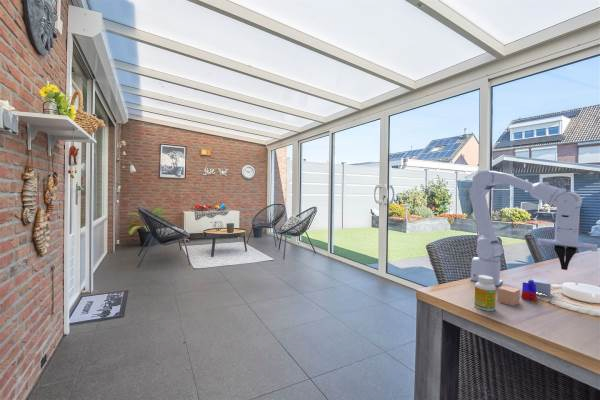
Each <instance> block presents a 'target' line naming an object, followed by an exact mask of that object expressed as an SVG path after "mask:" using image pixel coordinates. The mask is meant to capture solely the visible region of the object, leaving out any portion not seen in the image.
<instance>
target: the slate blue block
mask: <svg viewBox="0 0 600 400" xmlns="http://www.w3.org/2000/svg"><path fill="white" fill-rule="evenodd" d="M531 280H532V281H534V284H536V292H538V293H542V294H545V295H547V296H546V297H548V296H550V297H551V287H552V286H551V285H552V283H550V282H549V280H548V279H547V280H545V279H539V278H533V277H532V278H531Z"/></svg>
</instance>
